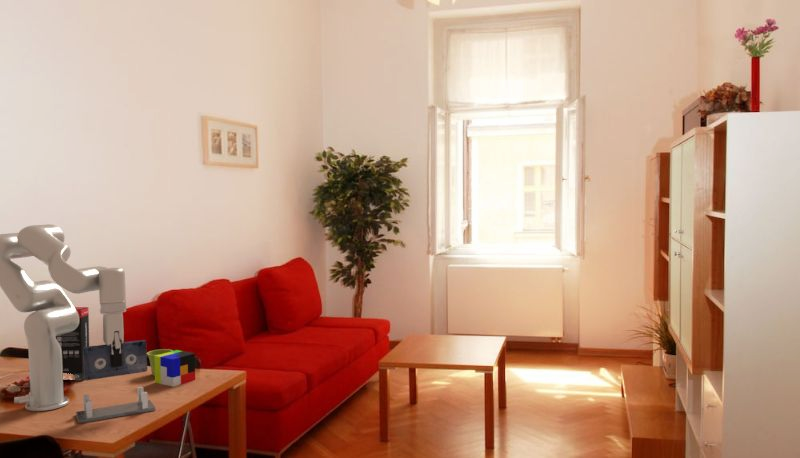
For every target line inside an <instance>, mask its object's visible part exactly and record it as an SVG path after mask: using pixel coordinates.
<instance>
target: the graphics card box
mask: <svg viewBox="0 0 800 458" xmlns="http://www.w3.org/2000/svg"><path fill="white" fill-rule="evenodd" d="M74 307H75V309H76V310H77V312H78V315H79V325H78V327H77V328H76V329H75V330H73V331H72V332H69V333H66V334H62V335H58V336H56V339H57V341H58V343H59V344H60V346H61V350H62V369H63V373H67V374H68V373H69V374H70V373H71V374H73V375H74V377H75V381H74V382H83V381H86V380H85V379H84V364H83V347H89V346H90V327H89V326H90V324H89V323H90V321H89V320H90V319H89V315H90V312H89V311H90V310H89V307H87V306H74ZM37 311H38V310H37Z"/></svg>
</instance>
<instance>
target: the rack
mask: <svg viewBox="0 0 800 458" xmlns="http://www.w3.org/2000/svg"><path fill="white" fill-rule="evenodd" d="M136 389H137V401H135V402H129V403H122V404H117V405H110V406H105V407H98V408H93V400H92V399H91V400H90V398H91V397H90V396H91V395H90V394H84V395H82V396H83V399H82V400H83V410H80V411H76V412H75V416H76V419H77V422H78V424H85V423H90V422H96V421H101V420H103V421H104V420H107V419H108V420H109V419H114V418H119V417H126V416H132V415H137V414H143V413H148V412H149V411H150V412H154V411H156V406H155V404H153V402H152V401H151V400H150V399H148V398H149V397H148V392H147V391H144V389H145V388H144V387H143V385H142V386H137V387H136Z"/></svg>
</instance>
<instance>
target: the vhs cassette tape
mask: <svg viewBox="0 0 800 458" xmlns="http://www.w3.org/2000/svg"><path fill="white" fill-rule="evenodd" d="M114 344H115V343H114ZM113 348H114V347H113ZM121 353H122V366H119V367H111V360H110V355H111V344H109V346H107V345H106V344H105V343H104V344H100V345H89V347H83V364H84V379H85V380H84V381H92V380H99V379H106V378H112V377H119V376H126V375H133V374H139V373H146V372H147V371H148V360H147V359H148V355H147V353H148V352H147V341H146V339H143V340H141V339H140V340H133V341H132V340H131V341H124V342H123V344H121Z"/></svg>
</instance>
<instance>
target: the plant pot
mask: <svg viewBox="0 0 800 458" xmlns="http://www.w3.org/2000/svg"><path fill="white" fill-rule="evenodd" d="M171 351H173V350H172V349H169V348H168V349H165V348H163V349H154V350H150V351H148V352H146V353H147V359H149V364H150V369H151V370H150V371H151V375H152V376H154V377H155V361H154V356H156V355H160V354H164V353H167V352H171Z"/></svg>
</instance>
